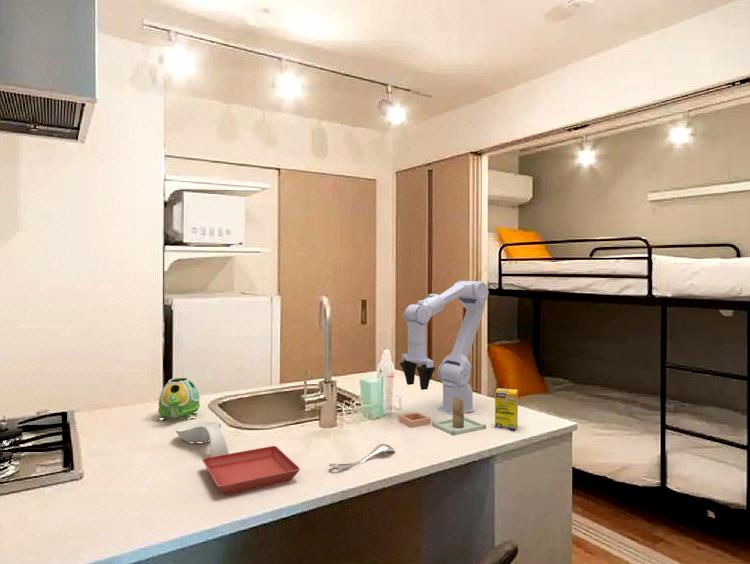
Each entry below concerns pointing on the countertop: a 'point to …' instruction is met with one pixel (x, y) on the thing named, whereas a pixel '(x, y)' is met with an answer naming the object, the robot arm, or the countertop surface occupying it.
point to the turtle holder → (178, 399)
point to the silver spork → (376, 450)
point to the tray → (468, 427)
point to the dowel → (458, 413)
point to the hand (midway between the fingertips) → (417, 386)
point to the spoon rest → (205, 436)
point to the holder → (414, 420)
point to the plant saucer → (250, 469)
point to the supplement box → (506, 408)
